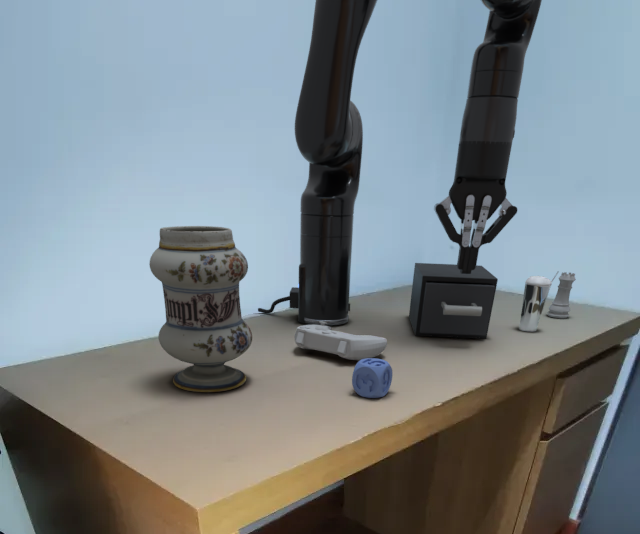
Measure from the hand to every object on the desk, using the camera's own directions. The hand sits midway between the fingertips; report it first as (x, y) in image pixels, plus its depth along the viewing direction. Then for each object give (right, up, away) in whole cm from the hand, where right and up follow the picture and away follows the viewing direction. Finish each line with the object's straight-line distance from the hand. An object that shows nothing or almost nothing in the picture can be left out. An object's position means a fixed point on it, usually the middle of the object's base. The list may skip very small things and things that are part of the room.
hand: (465, 272), depth 92 cm
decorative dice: (-17, -25, -16) cm, 34 cm away
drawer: (0, -5, +10) cm, 11 cm away
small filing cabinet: (0, -3, +15) cm, 15 cm away
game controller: (-21, -14, -2) cm, 25 cm away
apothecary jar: (-39, -22, -14) cm, 47 cm away
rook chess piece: (+26, +4, +26) cm, 36 cm away
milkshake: (+16, -3, +15) cm, 22 cm away
